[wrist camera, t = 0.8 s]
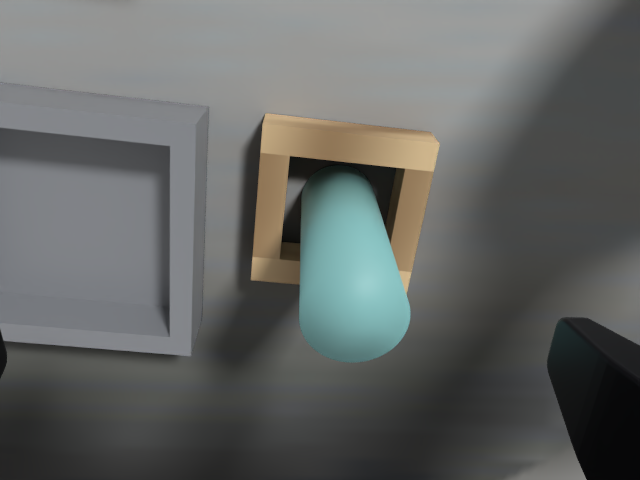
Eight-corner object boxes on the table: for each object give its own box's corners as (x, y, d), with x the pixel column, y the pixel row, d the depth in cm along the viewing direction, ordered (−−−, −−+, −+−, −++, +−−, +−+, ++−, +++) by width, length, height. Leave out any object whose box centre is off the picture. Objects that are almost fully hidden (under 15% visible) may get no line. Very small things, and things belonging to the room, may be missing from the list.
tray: (208, 106, 19) (195, 124, 17) (201, 319, 23) (190, 356, 21) (-58, 76, 19) (-108, 90, 16) (-19, 300, 22) (-55, 336, 20)
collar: (430, 132, 20) (439, 143, 18) (400, 275, 22) (406, 294, 21) (265, 113, 19) (262, 123, 18) (254, 261, 22) (250, 280, 21)
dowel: (379, 169, 20) (420, 274, 13) (368, 236, 22) (399, 366, 14) (305, 161, 20) (305, 263, 13) (297, 229, 21) (293, 357, 14)
